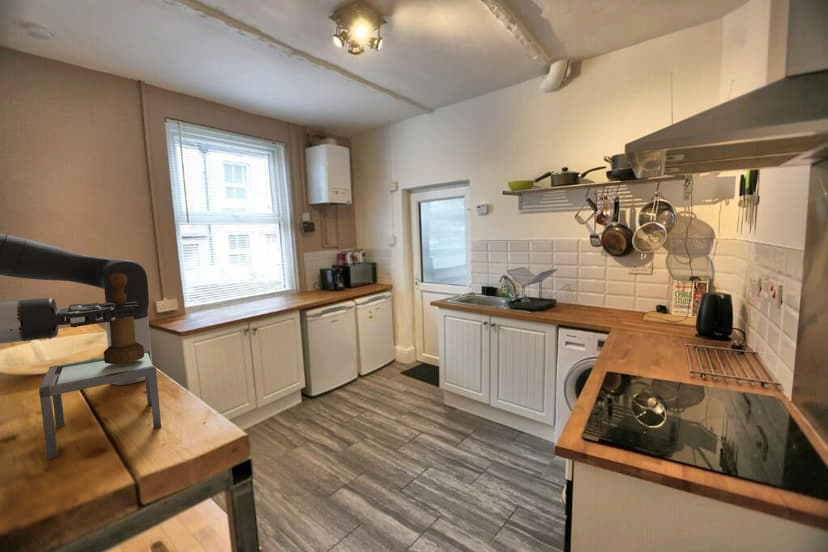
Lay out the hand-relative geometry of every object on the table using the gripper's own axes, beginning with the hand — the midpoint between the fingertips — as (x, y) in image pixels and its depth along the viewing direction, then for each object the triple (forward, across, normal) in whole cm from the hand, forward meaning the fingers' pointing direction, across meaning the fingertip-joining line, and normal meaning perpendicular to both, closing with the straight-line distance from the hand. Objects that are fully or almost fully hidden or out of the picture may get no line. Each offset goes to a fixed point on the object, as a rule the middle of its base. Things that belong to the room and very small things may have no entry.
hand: (137, 308), depth 76 cm
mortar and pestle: (-3, 0, -10) cm, 11 cm away
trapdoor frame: (-6, 0, -24) cm, 25 cm away
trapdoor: (-6, 0, -12) cm, 14 cm away
